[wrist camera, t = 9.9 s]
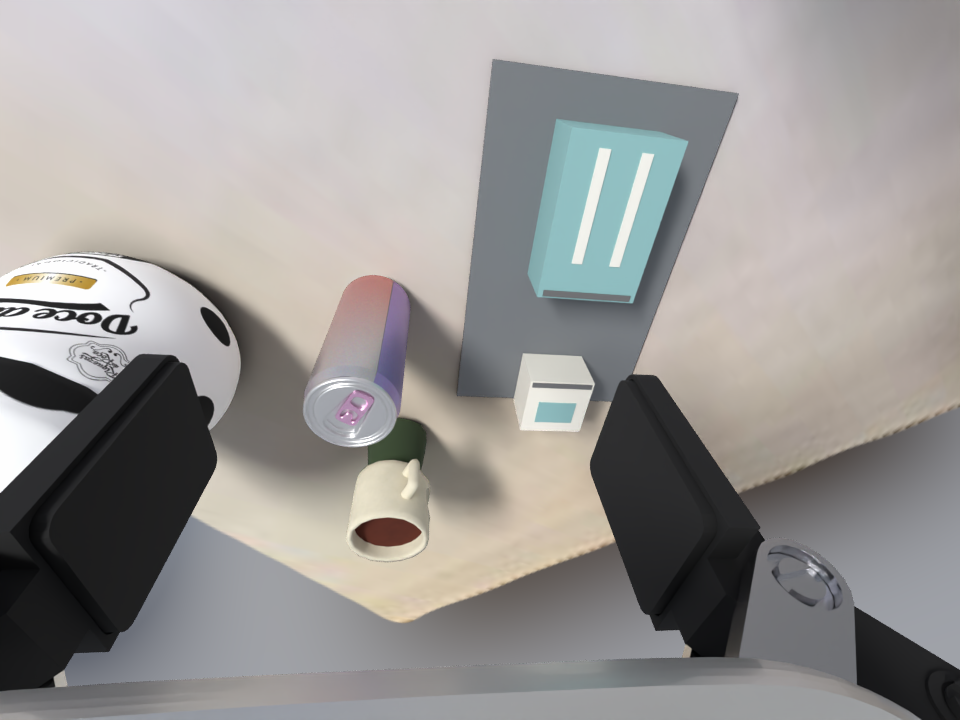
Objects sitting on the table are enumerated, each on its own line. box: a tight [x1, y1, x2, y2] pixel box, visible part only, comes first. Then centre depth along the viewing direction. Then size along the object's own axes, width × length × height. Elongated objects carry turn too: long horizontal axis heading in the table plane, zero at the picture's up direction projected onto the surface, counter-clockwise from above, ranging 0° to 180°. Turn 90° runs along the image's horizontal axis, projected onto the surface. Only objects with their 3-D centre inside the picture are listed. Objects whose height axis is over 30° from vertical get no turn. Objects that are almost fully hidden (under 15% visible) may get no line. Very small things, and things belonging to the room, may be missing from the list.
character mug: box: [346, 418, 430, 562], centre depth 43 cm, size 11×7×13 cm, turn 150°
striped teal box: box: [527, 119, 688, 303], centre depth 34 cm, size 12×8×5 cm, turn 173°
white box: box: [513, 353, 595, 432], centre depth 43 cm, size 6×6×5 cm
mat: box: [457, 59, 739, 401], centre depth 39 cm, size 29×18×1 cm, turn 173°
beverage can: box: [303, 275, 410, 447], centre depth 33 cm, size 6×6×15 cm
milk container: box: [0, 252, 241, 493], centre depth 32 cm, size 17×17×18 cm
